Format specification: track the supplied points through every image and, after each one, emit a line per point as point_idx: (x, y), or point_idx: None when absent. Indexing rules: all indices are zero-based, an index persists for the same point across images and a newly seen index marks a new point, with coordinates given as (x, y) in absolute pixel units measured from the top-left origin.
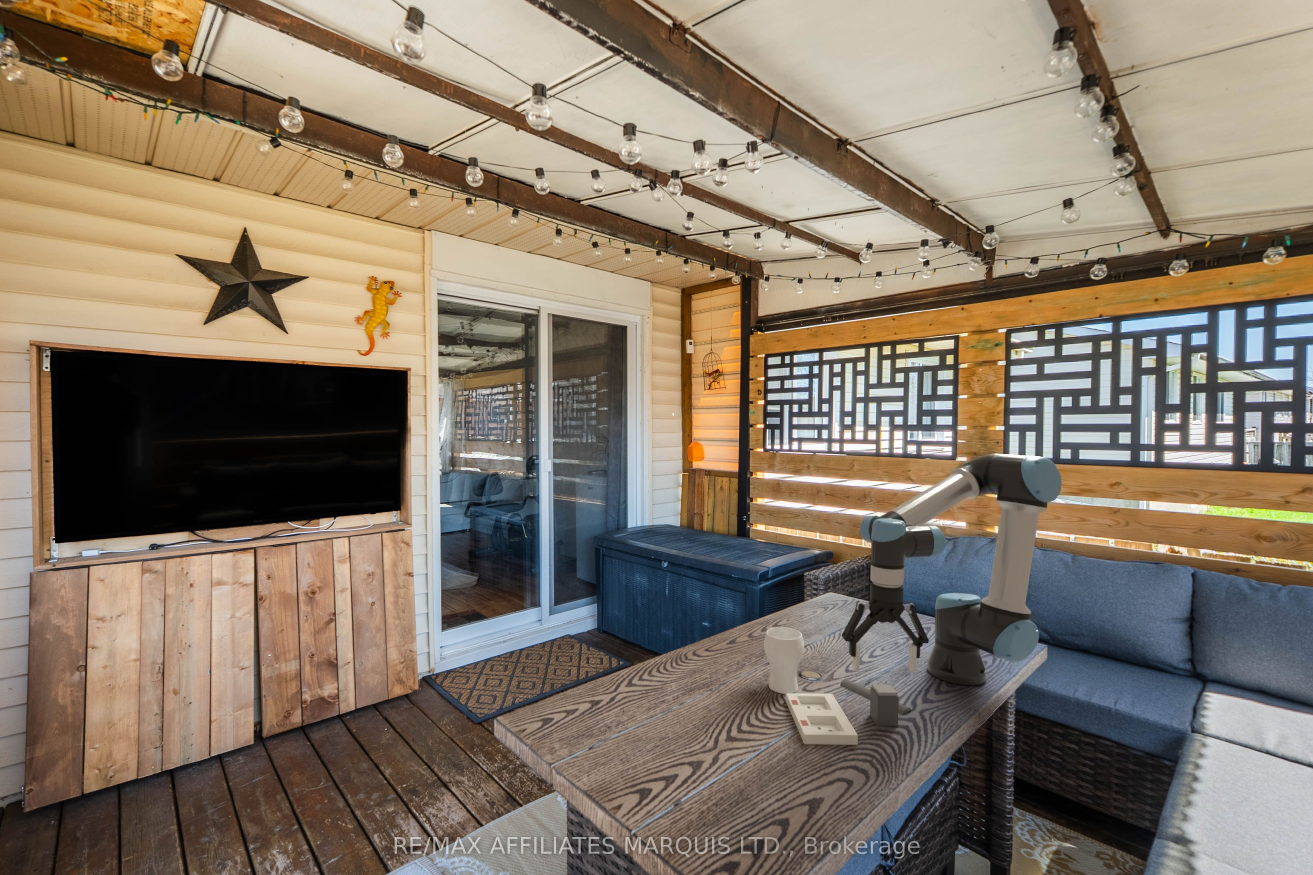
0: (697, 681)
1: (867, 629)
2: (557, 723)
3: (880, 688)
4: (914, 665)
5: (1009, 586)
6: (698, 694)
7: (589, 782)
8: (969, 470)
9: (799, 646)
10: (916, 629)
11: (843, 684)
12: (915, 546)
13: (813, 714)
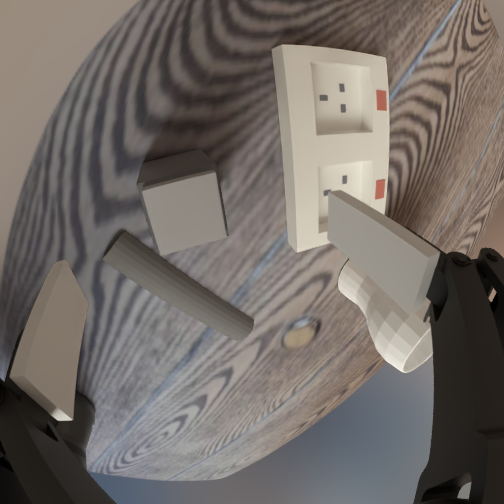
0: (444, 248)
1: (478, 362)
2: None
3: (201, 210)
4: (48, 283)
5: None
6: (453, 211)
7: (499, 46)
8: None
9: (412, 318)
10: (28, 497)
11: (248, 321)
12: None
13: (359, 138)
